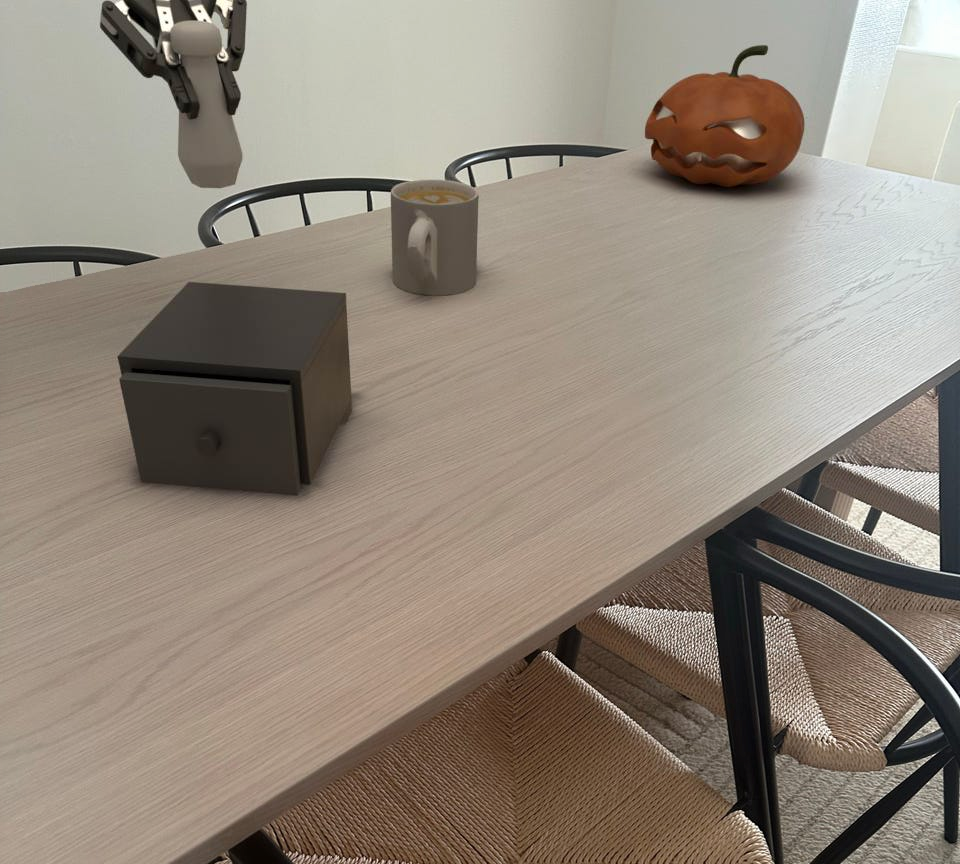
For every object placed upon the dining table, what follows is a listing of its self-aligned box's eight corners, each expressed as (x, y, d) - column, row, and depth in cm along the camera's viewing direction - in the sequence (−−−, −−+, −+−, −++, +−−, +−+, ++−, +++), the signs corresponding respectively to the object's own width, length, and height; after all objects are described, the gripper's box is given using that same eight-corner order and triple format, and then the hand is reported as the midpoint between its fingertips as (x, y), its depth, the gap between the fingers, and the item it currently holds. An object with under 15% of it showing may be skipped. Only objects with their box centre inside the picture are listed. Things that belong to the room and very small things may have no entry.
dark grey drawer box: (311, 497, 79) (300, 370, 72) (143, 483, 80) (117, 355, 73) (352, 409, 91) (345, 292, 84) (206, 397, 92) (188, 281, 85)
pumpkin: (607, 176, 156) (621, 38, 144) (688, 150, 171) (708, 22, 159) (748, 211, 144) (777, 63, 132) (822, 179, 159) (854, 44, 147)
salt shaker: (176, 177, 94) (152, 17, 86) (234, 171, 97) (217, 15, 88) (192, 193, 90) (169, 28, 82) (252, 187, 93) (236, 26, 84)
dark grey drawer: (293, 505, 76) (282, 399, 71) (135, 492, 77) (111, 385, 71) (338, 413, 88) (332, 316, 83) (201, 402, 89) (185, 305, 83)
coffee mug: (416, 260, 123) (415, 174, 116) (489, 274, 120) (492, 187, 113) (362, 295, 113) (358, 203, 107) (440, 311, 110) (441, 218, 104)
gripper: (209, -37, 95) (276, 130, 95) (60, -34, 88) (131, 145, 88) (224, -103, 88) (296, 78, 88) (64, -104, 82) (141, 90, 82)
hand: (213, 110), depth 88 cm, fingers closed on salt shaker, 3 cm apart
